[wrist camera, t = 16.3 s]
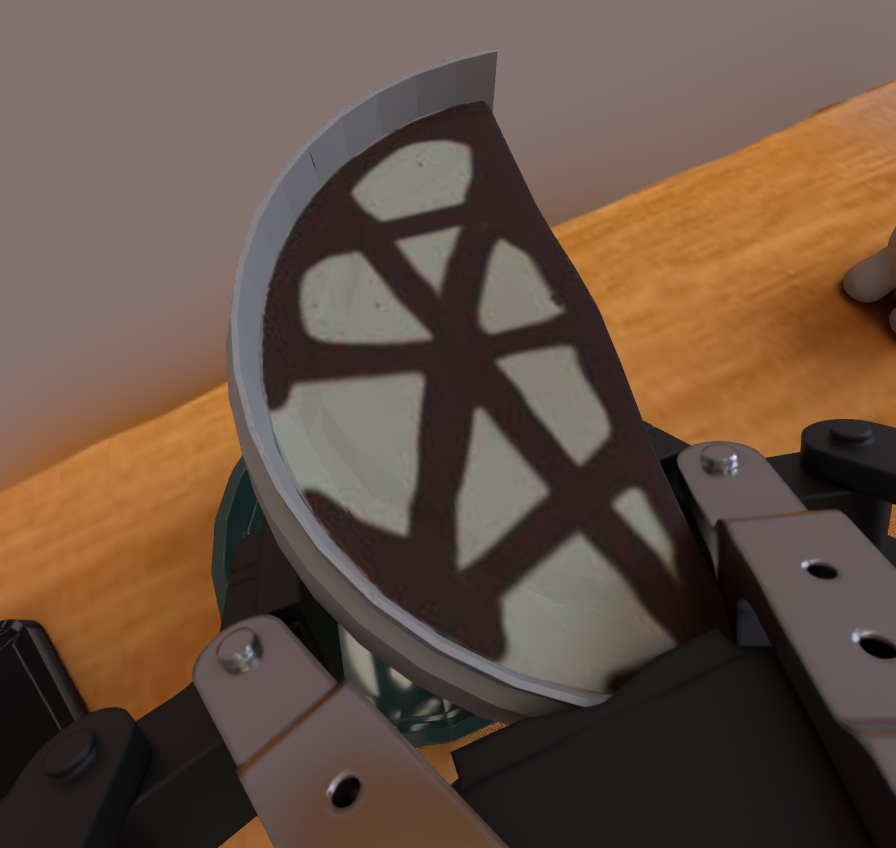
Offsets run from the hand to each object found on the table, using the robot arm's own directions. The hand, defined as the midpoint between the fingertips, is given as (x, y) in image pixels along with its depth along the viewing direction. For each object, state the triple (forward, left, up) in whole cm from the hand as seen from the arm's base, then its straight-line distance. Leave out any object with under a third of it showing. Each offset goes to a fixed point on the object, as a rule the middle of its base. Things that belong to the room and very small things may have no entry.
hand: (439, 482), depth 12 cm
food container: (0, -1, -5) cm, 5 cm away
